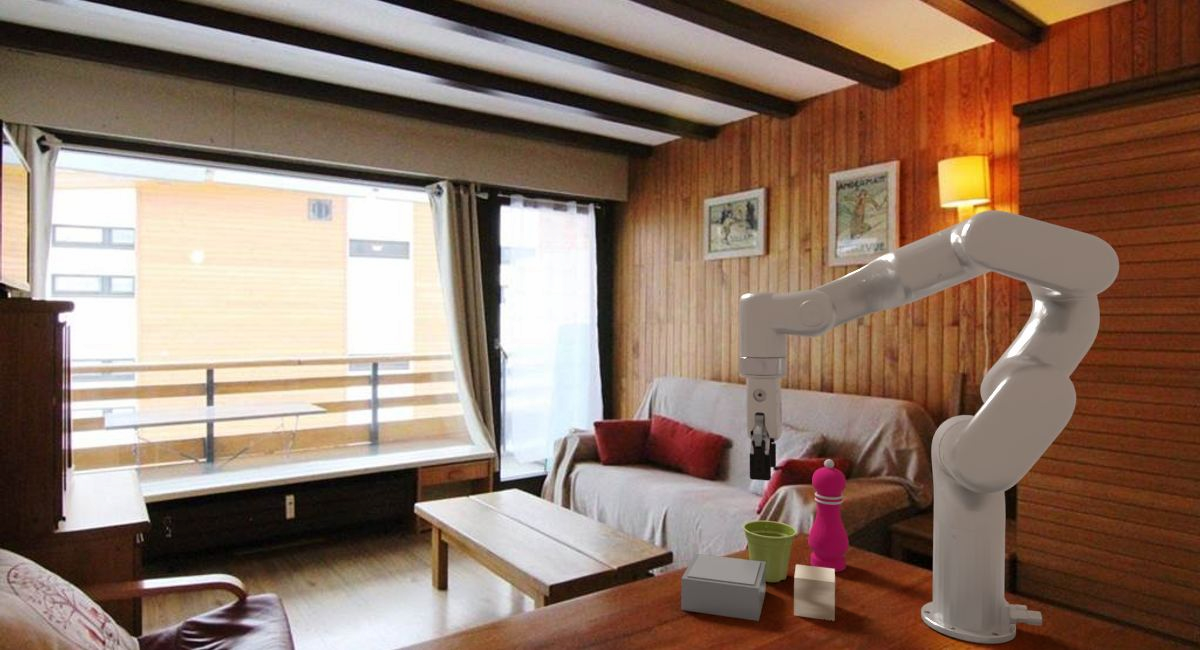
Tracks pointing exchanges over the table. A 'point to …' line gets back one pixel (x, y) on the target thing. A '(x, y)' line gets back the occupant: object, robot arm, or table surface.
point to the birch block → (814, 592)
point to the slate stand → (724, 586)
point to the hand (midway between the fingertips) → (763, 472)
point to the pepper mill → (828, 519)
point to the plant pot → (770, 546)
